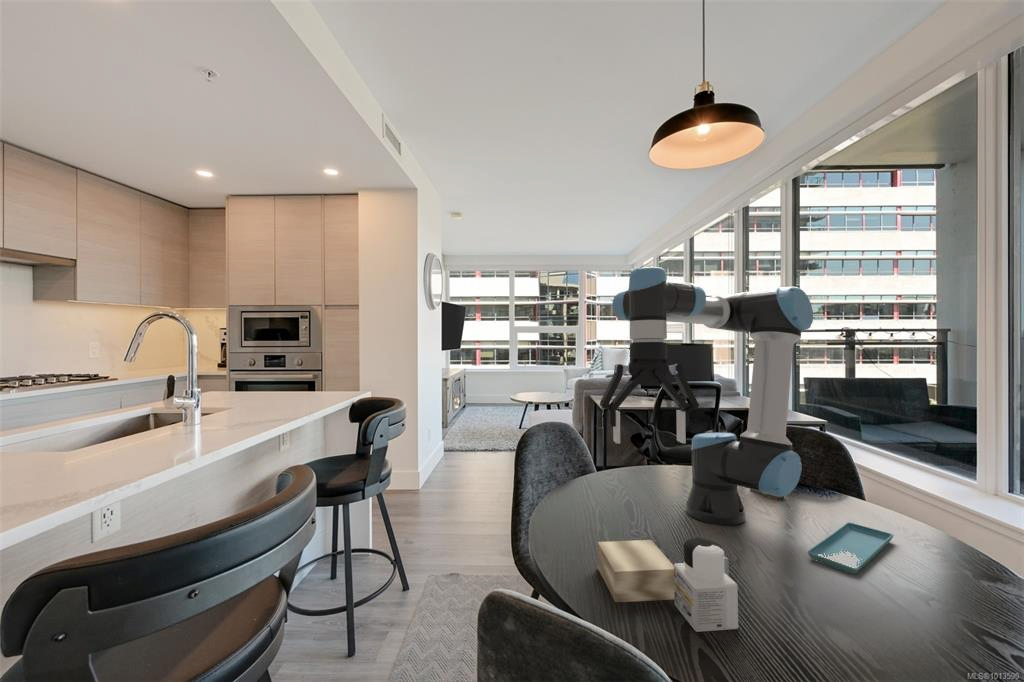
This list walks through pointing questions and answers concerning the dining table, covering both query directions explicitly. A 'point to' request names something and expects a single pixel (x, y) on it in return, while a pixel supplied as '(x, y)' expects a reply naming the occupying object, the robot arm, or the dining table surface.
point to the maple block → (636, 571)
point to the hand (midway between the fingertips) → (648, 442)
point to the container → (705, 587)
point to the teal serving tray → (851, 545)
